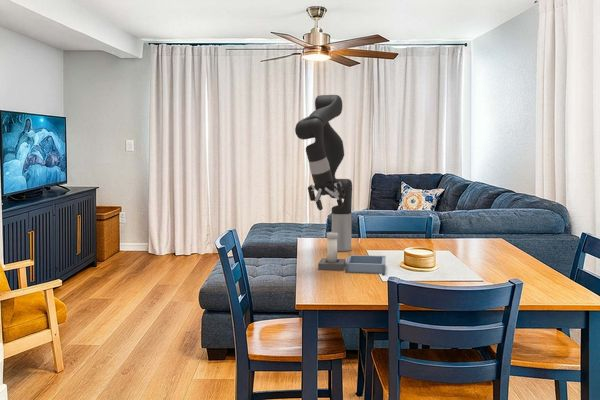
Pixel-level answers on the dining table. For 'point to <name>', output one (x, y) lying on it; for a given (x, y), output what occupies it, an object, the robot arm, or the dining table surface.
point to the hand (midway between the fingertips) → (330, 208)
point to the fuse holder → (331, 265)
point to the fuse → (332, 247)
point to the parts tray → (365, 264)
